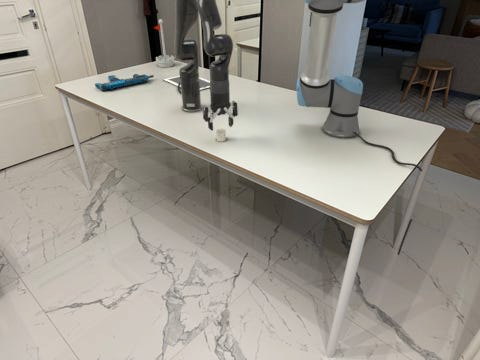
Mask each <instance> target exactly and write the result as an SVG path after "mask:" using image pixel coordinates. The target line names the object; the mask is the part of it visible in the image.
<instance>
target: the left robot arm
mask: <svg viewBox="0 0 480 360" xmlns="http://www.w3.org/2000/svg"><path fill="white" fill-rule="evenodd" d="M174 3H175V5H174V17H175V18H174V21H175V23H174V24H175V26H174V27H175V30H174V39H173V56H174V58H175V59H176V60H177V61H179V62H184V61H185V62H186V61H189V62H188V63H187V64H185V65H183V66H182V67H180V68H179V71H178V72H179V76H180V82H179V84H178V86H177V91H178V93H179V94H180V95H181V102H182V110H183V111H184V112H188V113H195V112H199V111H201V110H202V119H203V121H204V122H205V123H207V128H208V129H209V130H210V131H214V122H213V121H214V120H215V119H216V118H217V116H224V115H227V116H228V126H229V128H232V127H233V125H234V118H235V117H238V116H239V113H238V112H239V111H238V102H236V101H235V100H232V101H231V97H230V96H231V95H230V94H231V93H230V92H231V91H230V77H229V76H230V75H229V73H230V71H229V70H230V69H229V67H230V63H231V59H232V54H233V50H234V42H233V39H232V37H231V36H230V35H229V34H228V33H221V34H214V31H217V30H219V29H220V28H221V27H222V24H223V22H222V18H221V13H220V10H219V8H218V4H217V0H175V2H174ZM198 18H200V21H201V26H202V35H203V50H204V52H205V54H206V55H207V56H209V57H218V56H219V57H218V58H217V59H216V60H215V61H212V62H211V63H210V64H209V81H210V88H209V92H210V97H209V98H210V105H208V106H207V105H203V106H202V99H201V90H200V82H199V77H200V72H199V71H200V68H199V67H200V66H199V45H198V41H197V39H195V38H186V36H187V35H188V33H189V32H190V31H191V30H192V29H193V27H194V26H195V24H197V21H198ZM180 84H181V88H180V87H179V86H180ZM230 101H231V102H230ZM230 108H232V112H231V111H230Z"/></svg>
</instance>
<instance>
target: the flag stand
mask: <svg viewBox="0 0 480 360" xmlns="http://www.w3.org/2000/svg"><path fill="white" fill-rule="evenodd" d="M163 24H164V20H163V19H162V18H160V19H158V25H155V26H154V27H153V28H154V29H155V30H157V31H159V32H160V35H161V44H162V51H163V52H162V53H163V55H159V56H156V57H155V62H156V63H157V66H158V67H160V68H170V67H174V66H175V63H174V62H175V61H176V60H175V59H176V58H175V55H169V54H167V52H166V43H165V35H164V27H163Z"/></svg>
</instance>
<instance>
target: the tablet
mask: <svg viewBox="0 0 480 360" xmlns="http://www.w3.org/2000/svg"><path fill="white" fill-rule="evenodd" d="M162 80H163V81H165V82H166V83H169V84H171V85H173V86H175V87H178V84H179V82H180V75H176V76H172V77H167V78H163V79H162ZM199 82H200V91H204V90H206V89H210V80H209V79H205V78H202V77H200V76H199ZM179 89H181V84H180V86H179Z"/></svg>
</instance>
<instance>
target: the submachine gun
mask: <svg viewBox="0 0 480 360" xmlns="http://www.w3.org/2000/svg"><path fill="white" fill-rule="evenodd" d="M107 77H108V80H109V82H103V83H100V82H96V83H94V86H95V88H97V89H98V90H100V91H107V90H113V91H114V90H115V89H116V88H120V87H125V86H129V85H134V84H138V83H139V84H140V83H145V82H146V83H147V81H148V80H150V79H151V78H154V77H155V76H154V74H151V75H147V74H138V73H134V74H133V75H132V77H129V78H121V79H120V78H118V77H117V76H116V75H113V74H112V75H108V76H107Z"/></svg>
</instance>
